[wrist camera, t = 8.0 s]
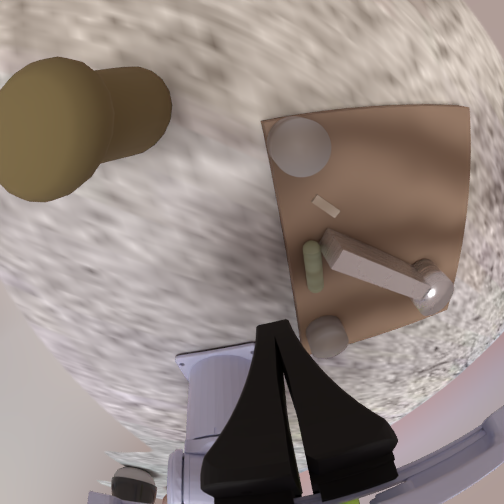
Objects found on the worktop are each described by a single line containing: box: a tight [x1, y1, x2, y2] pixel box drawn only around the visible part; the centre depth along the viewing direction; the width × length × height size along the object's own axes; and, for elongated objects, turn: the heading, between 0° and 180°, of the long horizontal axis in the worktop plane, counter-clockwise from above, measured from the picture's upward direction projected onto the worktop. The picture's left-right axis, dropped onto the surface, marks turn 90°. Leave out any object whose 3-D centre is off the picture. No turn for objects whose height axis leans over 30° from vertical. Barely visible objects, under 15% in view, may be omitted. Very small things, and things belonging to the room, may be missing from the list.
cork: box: [0, 57, 172, 202], centre depth 11 cm, size 6×6×11 cm
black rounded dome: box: [111, 467, 157, 504], centre depth 40 cm, size 10×10×15 cm
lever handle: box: [319, 228, 454, 316], centre depth 19 cm, size 12×4×3 cm, turn 66°
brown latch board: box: [261, 104, 471, 359], centre depth 20 cm, size 20×16×4 cm
